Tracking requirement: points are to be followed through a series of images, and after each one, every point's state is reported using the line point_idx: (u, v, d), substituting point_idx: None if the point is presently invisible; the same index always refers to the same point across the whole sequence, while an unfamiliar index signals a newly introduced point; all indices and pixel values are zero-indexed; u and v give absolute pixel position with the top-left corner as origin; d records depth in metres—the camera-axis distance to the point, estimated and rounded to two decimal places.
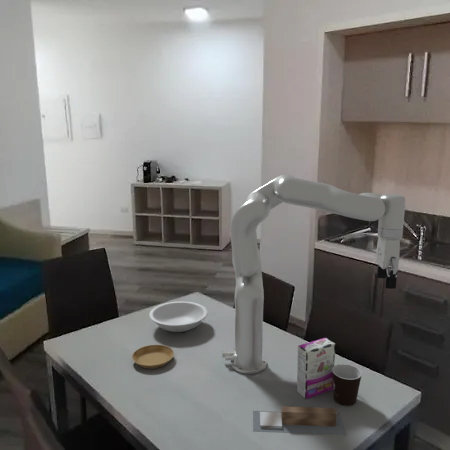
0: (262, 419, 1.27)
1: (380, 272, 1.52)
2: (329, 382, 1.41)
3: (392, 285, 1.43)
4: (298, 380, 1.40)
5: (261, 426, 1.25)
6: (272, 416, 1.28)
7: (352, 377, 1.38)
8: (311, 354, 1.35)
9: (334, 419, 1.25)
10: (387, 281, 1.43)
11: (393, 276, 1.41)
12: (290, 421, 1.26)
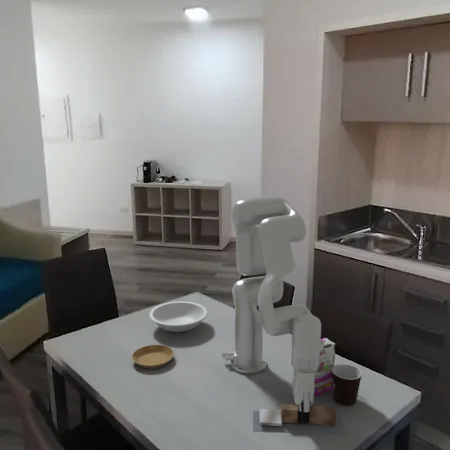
0: (262, 416, 1.27)
1: None
2: (329, 382, 1.41)
3: (304, 420, 1.24)
4: None
5: (261, 423, 1.24)
6: (271, 413, 1.28)
7: (352, 377, 1.38)
8: None
9: (334, 418, 1.25)
10: (299, 415, 1.25)
11: (305, 411, 1.23)
12: (289, 419, 1.26)
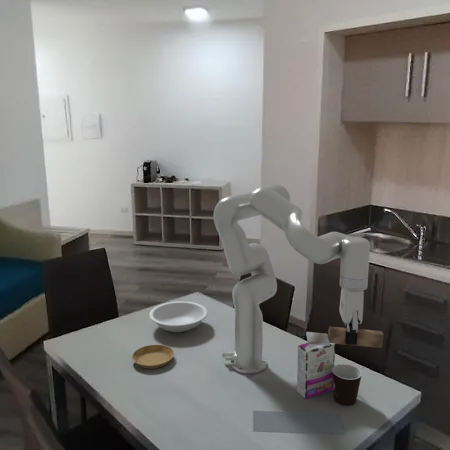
0: (309, 337, 1.30)
1: None
2: (329, 382, 1.41)
3: (352, 341, 1.27)
4: (298, 380, 1.40)
5: (309, 342, 1.28)
6: (318, 335, 1.32)
7: (352, 377, 1.38)
8: (311, 354, 1.35)
9: (381, 340, 1.28)
10: (347, 336, 1.28)
11: (353, 331, 1.26)
12: (337, 340, 1.29)
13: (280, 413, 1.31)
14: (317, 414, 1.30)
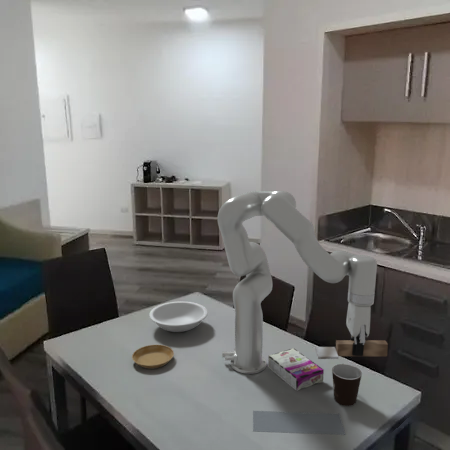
0: (319, 352, 1.39)
1: None
2: (312, 366, 1.48)
3: (359, 353, 1.36)
4: (287, 382, 1.46)
5: (319, 357, 1.36)
6: (327, 349, 1.40)
7: (352, 377, 1.38)
8: (274, 355, 1.55)
9: (386, 349, 1.37)
10: (354, 348, 1.36)
11: (360, 344, 1.35)
12: (345, 352, 1.37)
13: (280, 413, 1.31)
14: (317, 414, 1.30)
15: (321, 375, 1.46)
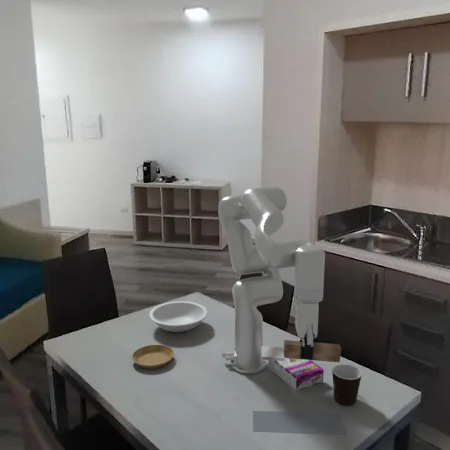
0: (264, 352, 1.22)
1: None
2: (312, 366, 1.48)
3: (308, 356, 1.20)
4: (287, 382, 1.46)
5: (263, 357, 1.20)
6: (274, 350, 1.24)
7: (352, 377, 1.38)
8: None
9: (338, 354, 1.20)
10: (302, 351, 1.20)
11: (308, 346, 1.19)
12: (292, 354, 1.21)
13: (280, 413, 1.31)
14: (317, 414, 1.30)
15: (321, 375, 1.46)
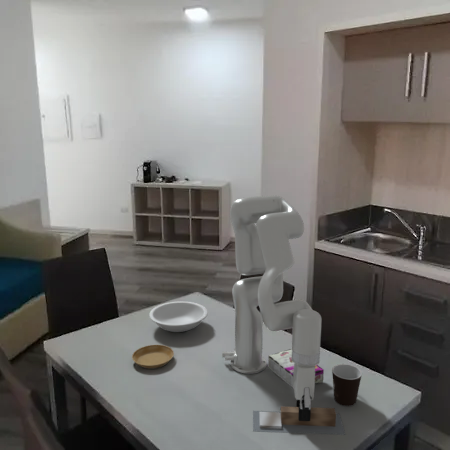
0: (261, 419, 1.27)
1: (299, 402, 1.28)
2: None
3: (305, 418, 1.22)
4: (287, 382, 1.46)
5: (260, 426, 1.25)
6: (271, 416, 1.28)
7: (352, 377, 1.38)
8: (274, 355, 1.55)
9: (334, 419, 1.25)
10: (300, 413, 1.23)
11: (306, 409, 1.21)
12: (289, 421, 1.26)
13: (280, 413, 1.31)
14: None
15: (321, 375, 1.46)
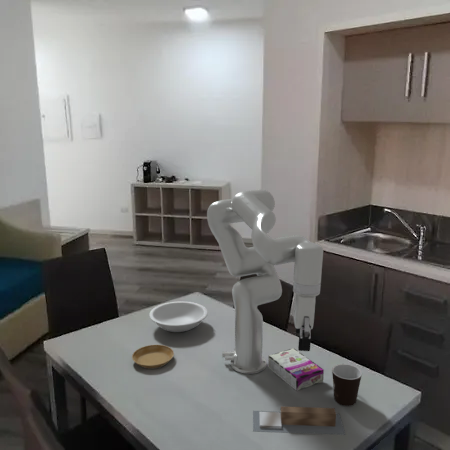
0: (261, 419, 1.27)
1: None
2: (312, 366, 1.48)
3: (305, 348, 1.24)
4: (287, 382, 1.46)
5: (260, 426, 1.25)
6: (271, 416, 1.28)
7: (352, 377, 1.38)
8: (274, 355, 1.55)
9: (334, 419, 1.25)
10: (300, 343, 1.25)
11: (306, 338, 1.23)
12: (289, 421, 1.26)
13: (280, 413, 1.31)
14: None
15: (321, 375, 1.46)
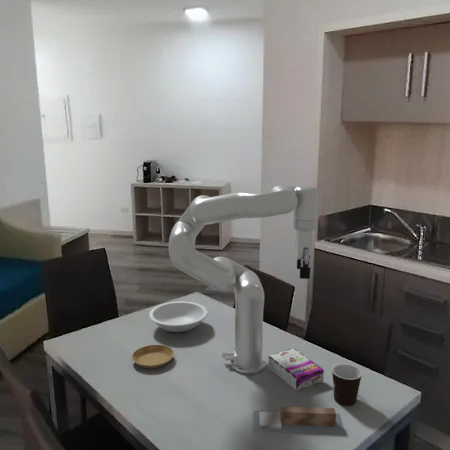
0: (261, 419, 1.27)
1: (299, 263, 1.55)
2: (312, 366, 1.48)
3: (306, 275, 1.46)
4: (287, 382, 1.46)
5: (260, 426, 1.25)
6: (271, 416, 1.28)
7: (352, 377, 1.38)
8: (274, 355, 1.55)
9: (334, 419, 1.25)
10: (301, 271, 1.46)
11: (306, 266, 1.44)
12: (289, 421, 1.26)
13: (280, 413, 1.31)
14: None
15: (321, 375, 1.46)
